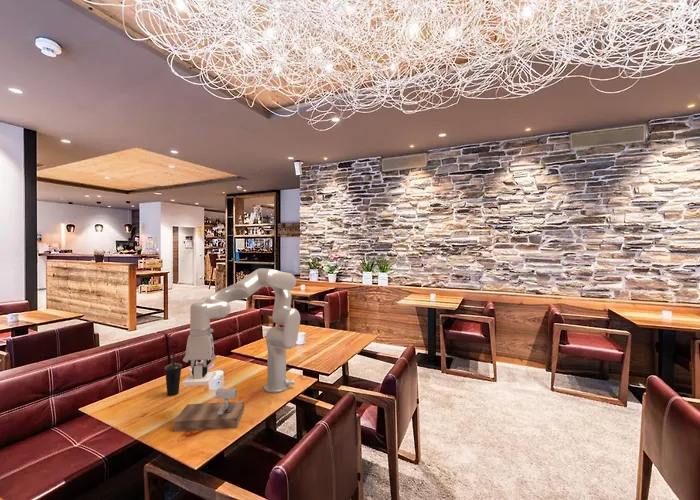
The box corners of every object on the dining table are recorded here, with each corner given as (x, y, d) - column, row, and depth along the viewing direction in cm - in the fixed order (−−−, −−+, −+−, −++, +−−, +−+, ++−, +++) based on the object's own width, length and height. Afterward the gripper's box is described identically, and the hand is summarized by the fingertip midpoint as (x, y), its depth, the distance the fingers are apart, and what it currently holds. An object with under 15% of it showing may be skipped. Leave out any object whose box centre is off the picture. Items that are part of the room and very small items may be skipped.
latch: (217, 407, 134) (218, 388, 134) (236, 407, 134) (237, 388, 134) (209, 417, 126) (210, 397, 126) (229, 417, 126) (230, 397, 126)
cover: (215, 374, 137) (215, 360, 137) (208, 384, 127) (208, 368, 127) (191, 375, 136) (191, 360, 136) (182, 385, 126) (182, 369, 126)
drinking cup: (185, 391, 158) (185, 352, 158) (172, 398, 150) (172, 356, 150) (173, 389, 160) (174, 350, 160) (160, 395, 153) (160, 354, 153)
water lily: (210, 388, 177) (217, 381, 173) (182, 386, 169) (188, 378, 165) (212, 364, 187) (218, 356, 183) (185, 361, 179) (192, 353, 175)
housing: (244, 410, 140) (244, 400, 140) (237, 427, 126) (237, 417, 126) (187, 413, 137) (187, 403, 137) (173, 431, 123) (173, 420, 123)
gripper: (222, 329, 136) (222, 371, 136) (182, 330, 134) (182, 373, 134) (217, 333, 129) (217, 378, 129) (175, 334, 127) (175, 380, 127)
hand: (199, 375), depth 131 cm, fingers closed on cover, 3 cm apart
